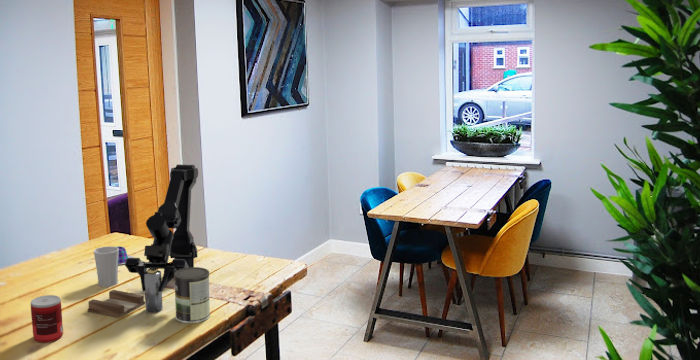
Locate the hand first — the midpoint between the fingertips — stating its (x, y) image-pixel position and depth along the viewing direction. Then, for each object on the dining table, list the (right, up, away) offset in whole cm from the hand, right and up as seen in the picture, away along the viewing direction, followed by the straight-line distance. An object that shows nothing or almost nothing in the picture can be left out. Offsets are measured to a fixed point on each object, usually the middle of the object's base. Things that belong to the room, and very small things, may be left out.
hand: (151, 291), depth 204 cm
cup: (-22, -2, +24) cm, 33 cm away
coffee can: (+13, -8, -2) cm, 15 cm away
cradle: (-12, -6, +4) cm, 14 cm away
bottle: (0, -6, +3) cm, 7 cm away
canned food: (-24, -10, -18) cm, 31 cm away
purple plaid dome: (-27, +3, +48) cm, 55 cm away
